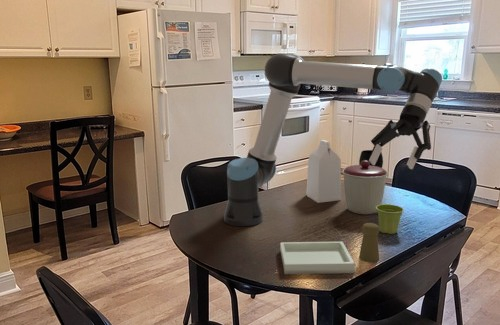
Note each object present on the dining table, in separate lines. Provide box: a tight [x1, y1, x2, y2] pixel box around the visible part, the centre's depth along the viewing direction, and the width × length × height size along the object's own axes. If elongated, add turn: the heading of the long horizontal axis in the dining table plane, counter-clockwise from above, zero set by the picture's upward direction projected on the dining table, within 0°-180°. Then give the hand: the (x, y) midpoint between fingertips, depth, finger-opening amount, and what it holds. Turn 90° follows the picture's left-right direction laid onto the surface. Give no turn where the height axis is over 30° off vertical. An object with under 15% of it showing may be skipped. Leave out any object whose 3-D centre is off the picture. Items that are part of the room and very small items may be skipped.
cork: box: [358, 222, 380, 263], centre depth 134 cm, size 6×6×11 cm
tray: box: [279, 241, 356, 275], centre depth 132 cm, size 20×16×3 cm
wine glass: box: [358, 149, 384, 168], centre depth 199 cm, size 10×10×20 cm
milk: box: [305, 139, 342, 204], centre depth 195 cm, size 12×12×26 cm
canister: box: [341, 160, 389, 215], centre depth 177 cm, size 18×18×21 cm
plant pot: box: [376, 203, 405, 235], centre depth 156 cm, size 9×9×9 cm
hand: (389, 164), depth 136 cm, fingers open, 13 cm apart
